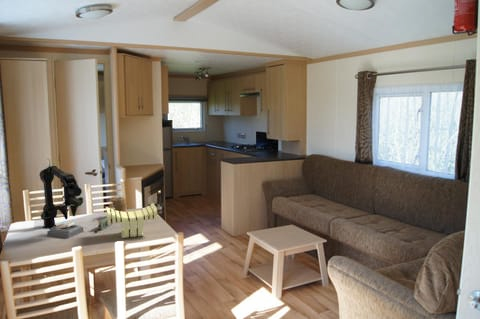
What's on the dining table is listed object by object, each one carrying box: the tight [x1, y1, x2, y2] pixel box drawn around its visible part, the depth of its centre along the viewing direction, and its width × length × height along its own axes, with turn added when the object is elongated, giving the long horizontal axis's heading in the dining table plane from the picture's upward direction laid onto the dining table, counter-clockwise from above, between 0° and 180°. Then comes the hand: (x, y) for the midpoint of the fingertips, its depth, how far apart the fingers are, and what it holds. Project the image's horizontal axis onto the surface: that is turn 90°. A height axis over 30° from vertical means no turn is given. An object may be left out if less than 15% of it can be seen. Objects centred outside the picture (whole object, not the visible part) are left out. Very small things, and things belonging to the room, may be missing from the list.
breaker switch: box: [56, 221, 76, 229], centre depth 261 cm, size 10×6×1 cm, turn 73°
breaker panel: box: [47, 223, 84, 239], centre depth 261 cm, size 16×14×4 cm
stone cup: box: [111, 196, 129, 218], centre depth 297 cm, size 15×12×15 cm
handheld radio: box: [94, 213, 117, 233], centre depth 274 cm, size 7×3×25 cm
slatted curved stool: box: [105, 202, 158, 239], centre depth 258 cm, size 30×16×18 cm, turn 110°
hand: (70, 217), depth 259 cm, fingers open, 7 cm apart
